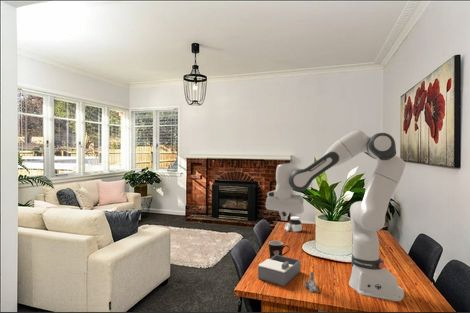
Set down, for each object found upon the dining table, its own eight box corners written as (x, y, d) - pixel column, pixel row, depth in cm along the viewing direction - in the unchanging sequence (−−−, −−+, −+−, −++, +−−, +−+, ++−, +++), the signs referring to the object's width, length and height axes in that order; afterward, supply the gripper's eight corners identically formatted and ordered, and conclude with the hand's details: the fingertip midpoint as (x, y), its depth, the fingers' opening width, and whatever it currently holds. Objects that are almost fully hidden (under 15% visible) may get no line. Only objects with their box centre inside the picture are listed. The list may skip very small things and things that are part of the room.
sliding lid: (292, 265, 136) (292, 260, 136) (284, 273, 128) (284, 267, 128) (267, 259, 144) (267, 254, 144) (258, 266, 136) (258, 261, 136)
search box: (300, 271, 145) (300, 260, 145) (284, 286, 128) (284, 273, 128) (276, 265, 153) (276, 254, 153) (258, 278, 136) (258, 266, 136)
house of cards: (296, 282, 133) (296, 266, 133) (315, 283, 132) (315, 267, 132) (298, 291, 124) (298, 274, 124) (318, 293, 123) (318, 276, 123)
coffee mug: (266, 261, 158) (266, 244, 158) (271, 256, 166) (271, 239, 166) (285, 265, 153) (285, 247, 153) (290, 260, 161) (290, 242, 161)
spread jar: (303, 232, 217) (303, 218, 217) (292, 235, 211) (292, 219, 211) (292, 229, 227) (292, 215, 227) (282, 231, 221) (282, 216, 221)
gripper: (305, 194, 141) (305, 221, 141) (269, 191, 152) (269, 216, 153) (301, 196, 136) (301, 224, 136) (264, 192, 147) (264, 218, 147)
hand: (284, 220), depth 144 cm, fingers closed
